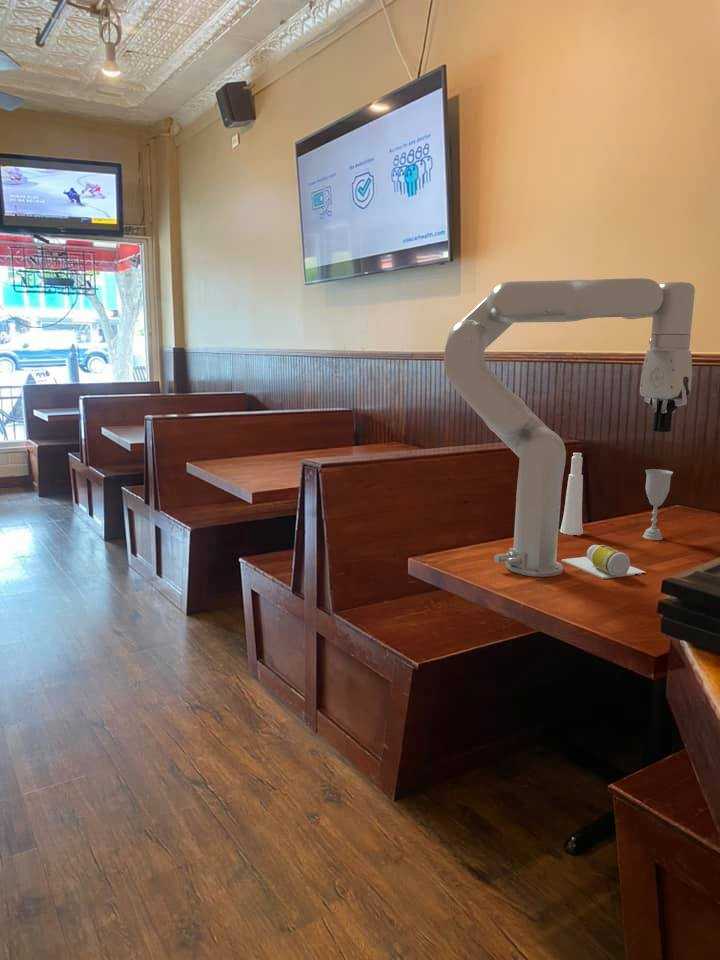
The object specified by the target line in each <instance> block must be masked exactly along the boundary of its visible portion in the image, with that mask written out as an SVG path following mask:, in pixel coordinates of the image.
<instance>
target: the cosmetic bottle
mask: <svg viewBox="0 0 720 960" xmlns="http://www.w3.org/2000/svg"><path fill="white" fill-rule="evenodd" d="M572 455H573V456H571V462H570V464H571V465H570V473H569V474H568V480H567V487H566V493H565V504H564V508H563V509H564V510H563V516H562V521H561V526H560V530H559V532H560V533H561V534H562V533H563V535H566V534H567V536H573V535H577V536H582V535H583V534H584V529H583V492H584V491H583V490H584V489H583V487H584V486H583V485H584V484H583V481H584V477H583V476H584V475H583V474H582V473H583V471H582V469H583V456H582V455H583V453H581V452H573V453H572ZM581 534H582V535H581Z"/></svg>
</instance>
